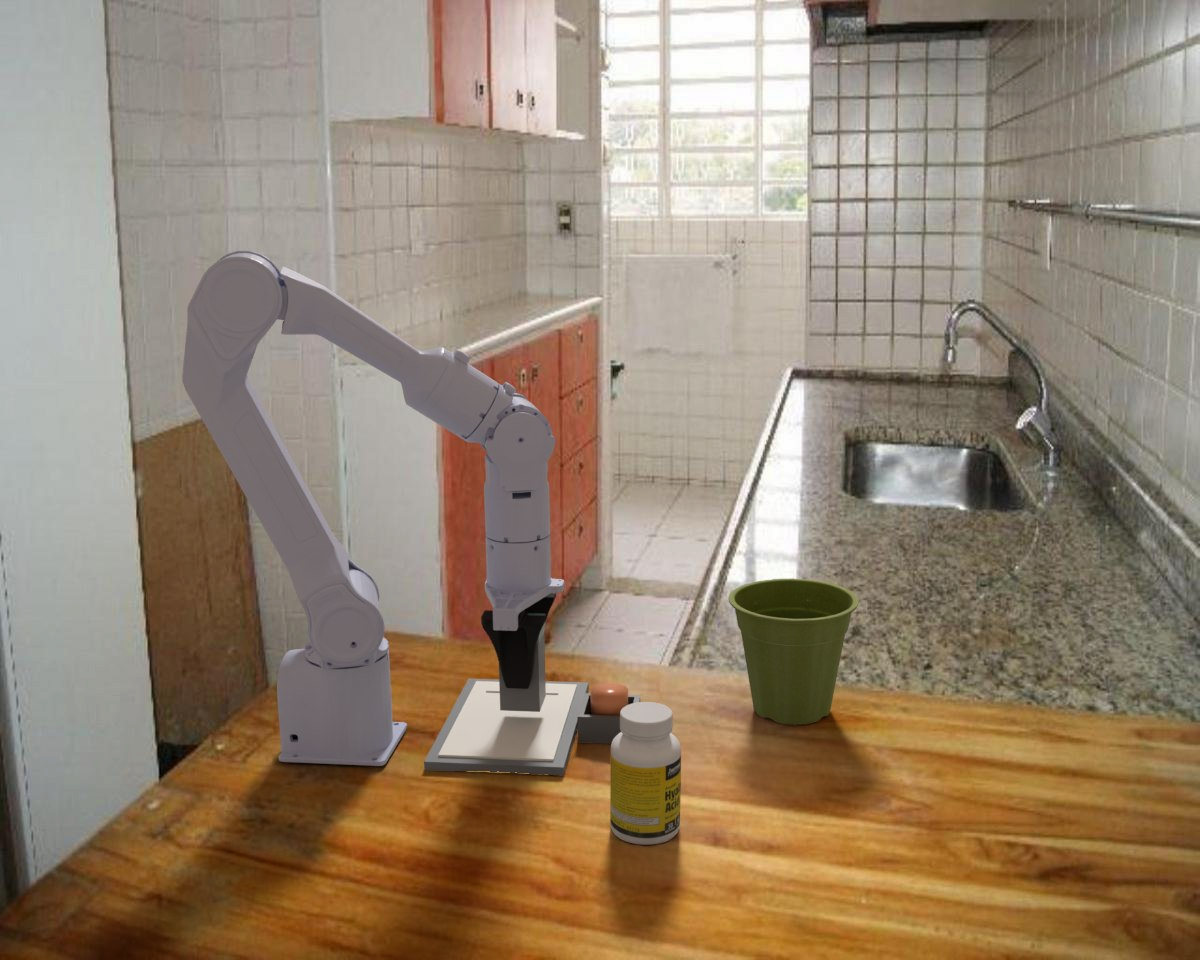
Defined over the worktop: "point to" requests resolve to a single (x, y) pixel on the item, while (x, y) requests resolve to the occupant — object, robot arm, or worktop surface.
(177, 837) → the worktop surface
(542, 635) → the block
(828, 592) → the plant pot
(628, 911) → the worktop surface
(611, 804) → the supplement bottle
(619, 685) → the button
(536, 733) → the sketch board
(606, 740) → the button housing
